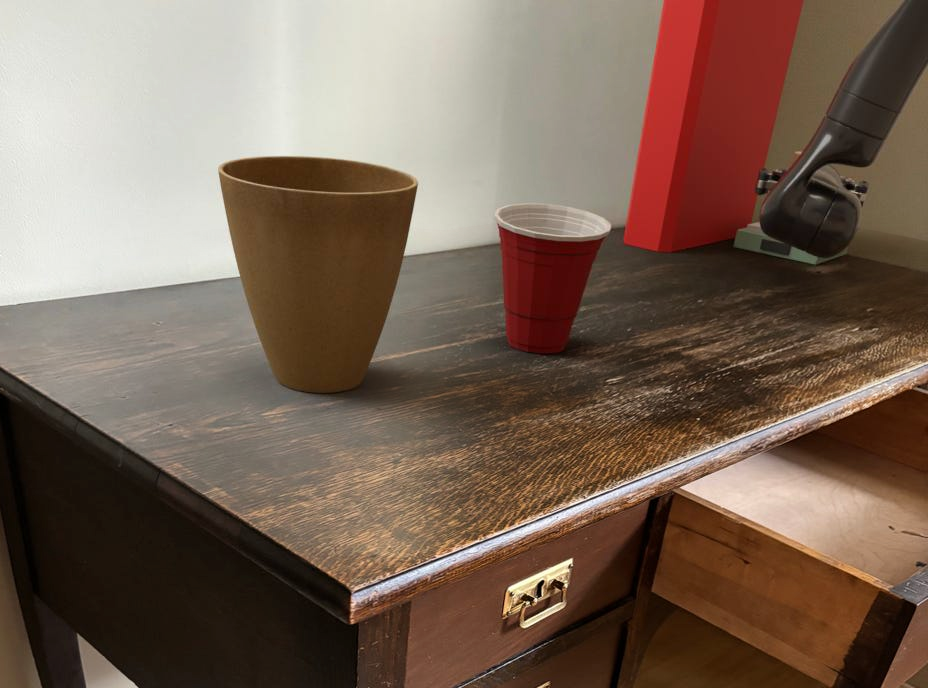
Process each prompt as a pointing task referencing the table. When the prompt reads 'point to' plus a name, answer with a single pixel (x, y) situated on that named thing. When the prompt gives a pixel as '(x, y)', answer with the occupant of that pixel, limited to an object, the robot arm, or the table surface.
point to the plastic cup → (545, 270)
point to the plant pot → (317, 260)
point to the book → (708, 119)
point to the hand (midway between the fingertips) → (810, 181)
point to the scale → (774, 246)
